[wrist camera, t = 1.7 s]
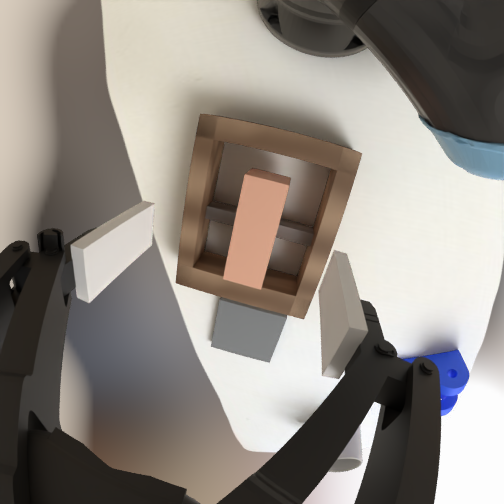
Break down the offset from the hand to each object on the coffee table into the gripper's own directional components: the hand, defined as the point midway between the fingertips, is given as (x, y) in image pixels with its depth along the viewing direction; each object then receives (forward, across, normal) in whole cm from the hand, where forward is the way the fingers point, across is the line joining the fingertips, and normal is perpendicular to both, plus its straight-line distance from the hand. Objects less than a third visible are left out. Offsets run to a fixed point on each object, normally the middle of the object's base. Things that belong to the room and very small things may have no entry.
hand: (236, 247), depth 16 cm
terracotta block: (+17, 0, -4) cm, 18 cm away
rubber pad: (+20, +2, -23) cm, 30 cm away
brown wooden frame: (+20, 0, -4) cm, 20 cm away
